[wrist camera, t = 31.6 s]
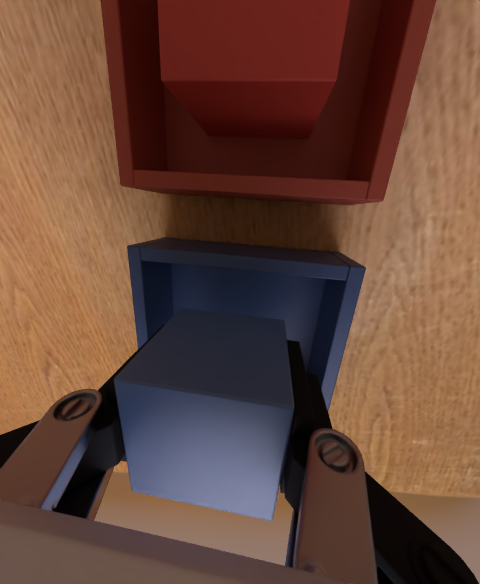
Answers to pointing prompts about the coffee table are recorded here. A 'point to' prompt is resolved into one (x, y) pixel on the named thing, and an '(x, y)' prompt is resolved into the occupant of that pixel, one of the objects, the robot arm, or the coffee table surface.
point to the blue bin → (251, 292)
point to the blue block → (209, 412)
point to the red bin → (261, 150)
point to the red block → (252, 62)
